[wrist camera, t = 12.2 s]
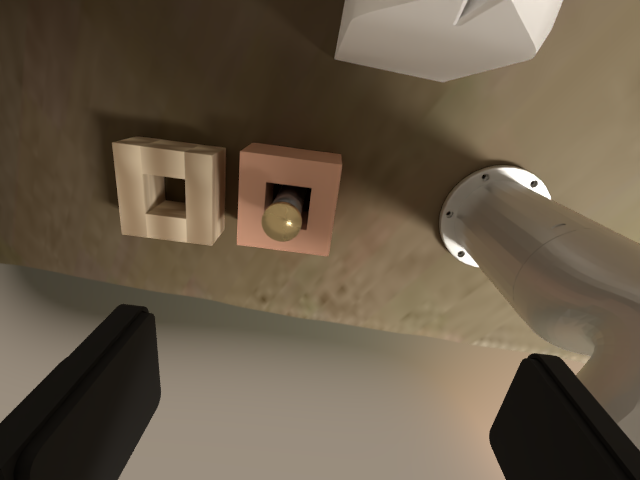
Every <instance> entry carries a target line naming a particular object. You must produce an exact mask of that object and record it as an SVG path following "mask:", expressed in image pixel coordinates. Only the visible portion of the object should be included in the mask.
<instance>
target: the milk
mask: <svg viewBox="0 0 640 480" xmlns="http://www.w3.org/2000/svg"><path fill="white" fill-rule="evenodd" d="M562 2H563V0H345V3H344V8H343V14H342V19H341V25H340V30H339V35H338V41H337V46H336V52H335V57H334V59H335V60H340V61H344V62H349V63H354V64H359V65H363V66H368V67H373V68H378V69H382V70H387V71H392V72H396V73H401V74H406V75H411V76H415V77H420V78H425V79H430V80H434V81H439V82H446V81H450V80H453V79H457V78H461V77H465V76H469V75H473V74H477V73H481V72H484V71H488V70H492V69H496V68H500V67H504V66H508V65H511V64H515V63H519V62H523V61H527V60H530V59H532V58H534V56H535V55H536V53H537V52H538V50H539V48H540V47H541V45H542V44H543V42H544V40H545V39H546V37H547V36H548V34H549V32H550V31H551V29H552V27H553V24H554V22H555V19H556V17H557V14H558V12H559V9H560V7H561V4H562Z"/></svg>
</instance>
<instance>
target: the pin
mask: <svg viewBox="0 0 640 480" xmlns="http://www.w3.org/2000/svg"><path fill="white" fill-rule="evenodd" d="M305 196H306V187H300V186H292V185H285V184H283V185H282V187H281V189H280V190H279V192H278V194H277V196H276V198H275V200H274V202H273V204H271V205H270V206H268V207H267V209H266V210H265V212H264V214H263V216H262V220H261V223H262V228H263V230H264V232H265V233H266V235H267V236H269V237H270V238H271V239H273V240H276V241H280V242H285V241H289V240H292V239H293V238H295V237H296V236H297V235H298V233H299V232H300V229H301V225H302V217H301V212H302V208H303V204H304V200H305Z"/></svg>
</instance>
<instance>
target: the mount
mask: <svg viewBox="0 0 640 480" xmlns="http://www.w3.org/2000/svg"><path fill="white" fill-rule="evenodd" d="M112 147H113V156H114V165H115V175H116V184H117V193H118V202H119V211H120V220H121V230H122V234H124V235H132V236H140V237H147V238H155V239H163V240H171V241H179V242H187V243H195V244H203V245H210V246H212V245H213V244H214V242H215V241H216V240H217V238H218V237H219V236H220V235H221V233H222V232H223V231H224V229H225V179H226V148H223V147H216V146H208V145H201V144H193V143H186V142H178V141H171V140H163V139H156V138H148V137H141V136H136V137H132V138H128V139H124V140H120V141H115V142H112ZM164 177H171V178H179V179H185V194H186V203H183V202H175V201H167V200H166V197H165V178H164Z"/></svg>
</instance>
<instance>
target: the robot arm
mask: <svg viewBox="0 0 640 480" xmlns="http://www.w3.org/2000/svg"><path fill="white" fill-rule="evenodd" d="M483 175H484V177H483V178H482V176H483ZM531 182H532V183H531ZM530 183H531V184H530ZM448 211H449V213H448V214H446V213H447V212H448ZM439 231H440V235H441V238H442V241H443V243H444V244H445V246H446V248H447V249H448V250H449V252H450V253H451V254H452V255H453V256H454V257H455V258H456V259H458V260H459V261H461V262H463V263H465V264H467V265H470V266H473V267H480V269H481V270H482V271H483V272H484V273H485V275H486V276H487V277H488V278H489V279H490V281H491V282H492V283H493V284H494V285H495V287H496V288H497V289H498V290H499V292H500V293H501V294H502V295H503V296H504V298H505V299H506V300H507V301H508V302H509V304H510V305H511V306H512V307H513V308H514V310H515V311H516V312H517V313H518V314H519V316H520V317H521V318H522V319H523V320H524V321H525V322H526V324H527V325H528V326H529V327H530V328H531V329H532V330H533V331H534V332H535V333H536V334H537V335H538V336H540V337H541V338H542V339H544V340H545V341H547V342H549V343H551V344H553V345H555V346H557V347H559V348H561V349H564V350H568V351H571V352H574V353H578V354H583V355H589V356H591V358H590V359H589V360H588V362H587V363H586V364H585V365H584V366H583V368H582V369H581V370H580V371H579V372H578V373H577V375H575V374H574V373H573V372H572V371H571V369H570V368H569V367H568V366H567V365H566V364H565V362H564V361H563V360H562V359H561V358H560V357H557V356H553V355H544V354H536V353H534V354H531V355H529V356H528V358H525V359H523V360H522V362H521V363H520V366H519V368H518V370H517V372H516V374H515V377H514V379H513V381H512V383H511V385H510V388H509V390H508V392H507V394H506V396H505V399H504V401H503V403H502V405H501V407H500V410H499V412H498V414H497V416H496V418H495V421H494V423H493V425H492V427H491V429H490V434H489V439H490V444H491V447H492V449H493V451H494V454H495V456H496V458H497V461H498V463H499V465H500V467H501V470H502V472H503V474H504V476H505V479H506V480H640V244H639V243H637V242H635V241H633V240H631V239H629V238H627V237H625V236H623V235H621V234H619V233H617V232H614V231H613V230H611V229H609V228H607V227H605V226H603V225H601V224H599V223H597V222H595V221H593V220H591V219H589V218H587V217H585V216H583V215H581V214H579V213H577V212H575V211H573V210H571V209H569V208H567V207H565V206H563V205H561V204H559V203H557V202H555V201H553V200H551V196H550V194H549V191H548V189H547V187H546V186H545V184H544V183H543V182H542V180H541V179H539V178H538V177H537V176H536V175H534V174H533V173H531V172H529V171H527V170H525V169H522V168H519V167H516V166H509V165H497V166H491V167H487V168H483V169H481V170H478V171H476V172H474V173H472V174H470V175H469V176H467V177H466V178H464V179H463V180H462V181H461V182H459V183H458V184H457V185H456V186H455V187H454V188H453V190H452V191H451V192H450V193H449V195H448V196H447V198H446V200H445V202H444V204H443V206H442V209H441V212H440V218H439ZM459 251H460V252H459ZM458 252H459V253H458ZM160 397H161V387H160V376H159V363H158V351H157V338H156V327H155V316H154V315H153V314H152V313H149V312H148V309H147V308H146V307H144V306H135V305H126V304H121V305H119V306H118V307H117V308H116V309H115V310H114V311H113V312H112V313H111V314H110V315H109V316H108V317H107V318H106V319H105V320H104V321H103V322H102V323H101V324H100V325H99V326H98V327H97V328H96V329H95V330H94V331H93V332H92V333H91V334H90V335H89V336H88V337H87V338H86V339H85V340H84V341H83V342H82V343H81V344H80V345H79V346H78V347H77V348H76V349H75V350H74V351H73V352H72V353H71V354H70V355H69V356H68V357H67V358H65V359H64V360H63V361H62V362H61V363H59V364H58V365H57V366H56V367H55V369H54V370H53V371H52V372H51V373H50V374H49V375H48V376H47V377H46V378H45V379H44V380H43V381H42V382H41V383H40V384H39V385H38V386H37V387H36V388H35V389H34V390H33V391H32V392H31V393H30V394H29V395H28V396H27V397H26V398H25V399H24V400H23V401H22V402H21V403H20V404H19V405H18V406H17V407H16V408H15V409H14V410H13V411H12V412H11V413H10V414H9V415H8V416H7V417H6V418H5V419H4V420H3V421H2V422H1V423H0V480H118V478H119V476H120V474H121V473H122V471H123V469H124V467H125V465H126V464H127V462H128V460H129V458H130V456H131V455H132V452H133V451H134V449H135V447H136V445H137V444H138V442H139V440H140V438H141V436H142V434H143V433H144V431H145V429H146V427H147V425H148V424H149V422H150V420H151V418H152V416H153V414H154V413H155V411H156V409H157V407H158V404H159V401H160Z"/></svg>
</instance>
